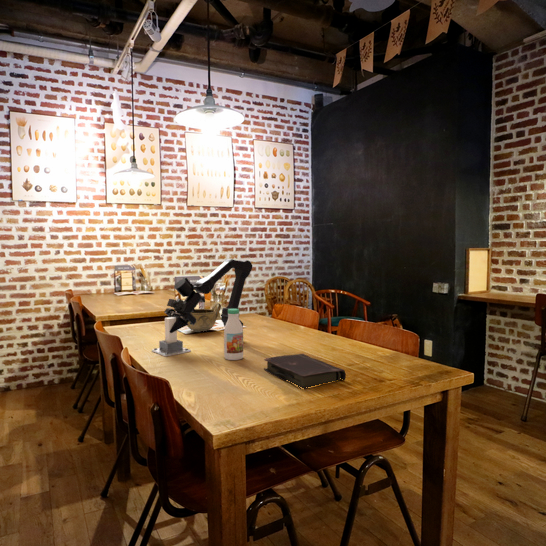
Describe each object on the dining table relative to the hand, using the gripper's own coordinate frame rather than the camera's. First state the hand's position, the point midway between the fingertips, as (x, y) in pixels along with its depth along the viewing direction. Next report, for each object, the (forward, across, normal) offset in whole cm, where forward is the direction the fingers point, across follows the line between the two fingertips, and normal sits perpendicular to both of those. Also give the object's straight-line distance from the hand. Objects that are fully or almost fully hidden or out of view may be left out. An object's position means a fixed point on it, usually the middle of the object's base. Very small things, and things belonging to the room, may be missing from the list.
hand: (168, 331), depth 183 cm
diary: (-6, +62, +20) cm, 65 cm away
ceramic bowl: (-18, -29, +31) cm, 46 cm away
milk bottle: (-4, +27, +17) cm, 32 cm away
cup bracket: (+5, 0, +7) cm, 9 cm away
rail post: (+4, 0, +6) cm, 7 cm away
